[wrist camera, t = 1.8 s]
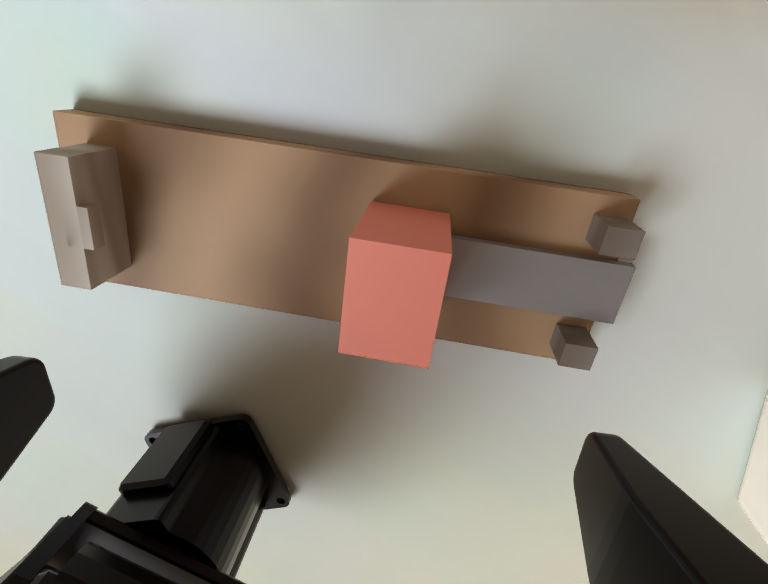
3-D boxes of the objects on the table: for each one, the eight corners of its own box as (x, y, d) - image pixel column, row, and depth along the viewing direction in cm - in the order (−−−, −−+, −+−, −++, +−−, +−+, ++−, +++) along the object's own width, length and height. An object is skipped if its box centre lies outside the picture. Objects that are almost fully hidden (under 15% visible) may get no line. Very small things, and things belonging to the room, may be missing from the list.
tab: (639, 243, 16) (702, 294, 12) (602, 336, 18) (647, 407, 14) (371, 201, 17) (349, 237, 13) (360, 295, 19) (337, 352, 15)
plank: (629, 193, 17) (673, 220, 14) (571, 350, 20) (596, 400, 17) (72, 109, 18) (-8, 114, 15) (98, 269, 21) (38, 302, 18)
